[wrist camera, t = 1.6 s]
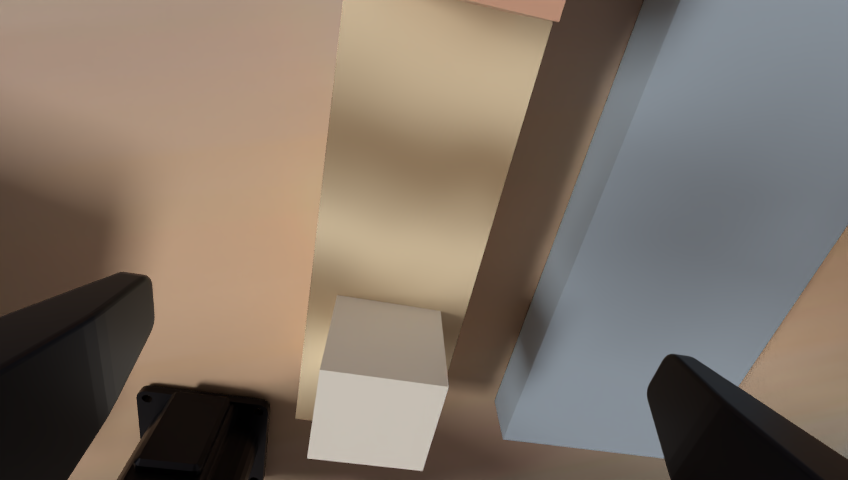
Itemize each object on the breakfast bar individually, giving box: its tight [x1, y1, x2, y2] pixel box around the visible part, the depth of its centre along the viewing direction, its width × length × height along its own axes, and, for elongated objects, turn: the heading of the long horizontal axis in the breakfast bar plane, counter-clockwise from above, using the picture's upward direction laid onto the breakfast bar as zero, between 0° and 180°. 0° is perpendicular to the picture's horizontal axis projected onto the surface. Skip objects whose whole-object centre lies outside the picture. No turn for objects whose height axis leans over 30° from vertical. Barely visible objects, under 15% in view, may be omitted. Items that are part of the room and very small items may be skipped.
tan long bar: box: [295, 0, 553, 421], centre depth 17 cm, size 24×6×4 cm, turn 168°
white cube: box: [307, 295, 449, 471], centre depth 17 cm, size 4×4×4 cm
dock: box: [495, 0, 848, 458], centre depth 19 cm, size 26×10×2 cm, turn 168°
